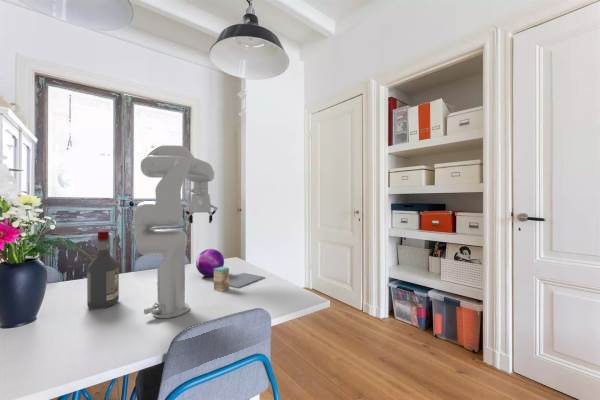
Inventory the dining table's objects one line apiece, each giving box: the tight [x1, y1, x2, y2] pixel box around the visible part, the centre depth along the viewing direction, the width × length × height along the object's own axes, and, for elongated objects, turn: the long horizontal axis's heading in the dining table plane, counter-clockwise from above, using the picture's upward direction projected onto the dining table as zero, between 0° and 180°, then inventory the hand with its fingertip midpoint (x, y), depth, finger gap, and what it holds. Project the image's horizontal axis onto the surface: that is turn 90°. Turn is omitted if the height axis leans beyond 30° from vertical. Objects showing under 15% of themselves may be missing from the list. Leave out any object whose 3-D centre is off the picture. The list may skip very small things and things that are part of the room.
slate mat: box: [229, 272, 266, 289], centre depth 143 cm, size 20×16×1 cm
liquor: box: [86, 230, 120, 310], centre depth 110 cm, size 9×9×30 cm
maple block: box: [213, 266, 230, 292], centre depth 129 cm, size 5×5×10 cm
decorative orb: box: [195, 248, 225, 277], centre depth 152 cm, size 15×15×15 cm
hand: (200, 223), depth 147 cm, fingers open, 9 cm apart
